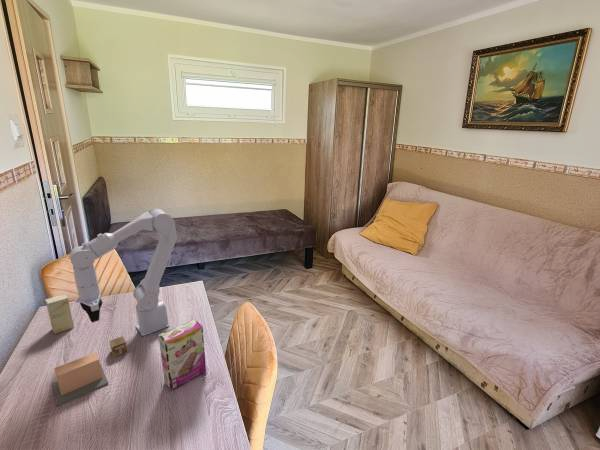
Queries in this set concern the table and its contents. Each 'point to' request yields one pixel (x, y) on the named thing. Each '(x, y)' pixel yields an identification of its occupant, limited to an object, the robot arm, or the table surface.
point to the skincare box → (59, 313)
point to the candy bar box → (182, 353)
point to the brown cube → (118, 346)
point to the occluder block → (78, 373)
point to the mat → (78, 390)
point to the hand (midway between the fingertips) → (95, 320)
